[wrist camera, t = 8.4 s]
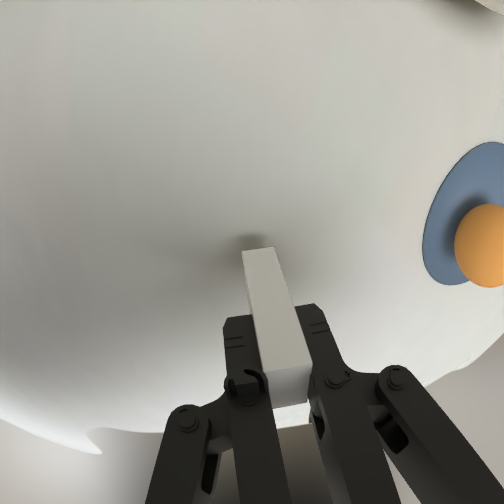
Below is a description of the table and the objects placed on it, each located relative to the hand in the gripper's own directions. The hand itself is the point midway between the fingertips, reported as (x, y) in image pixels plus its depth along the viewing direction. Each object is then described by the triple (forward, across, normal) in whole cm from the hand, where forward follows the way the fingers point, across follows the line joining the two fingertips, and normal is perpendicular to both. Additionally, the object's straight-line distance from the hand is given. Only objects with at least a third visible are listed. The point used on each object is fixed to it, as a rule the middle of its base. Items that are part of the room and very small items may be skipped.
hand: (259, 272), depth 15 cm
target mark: (+2, +17, 0) cm, 17 cm away
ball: (-1, +15, 0) cm, 15 cm away
